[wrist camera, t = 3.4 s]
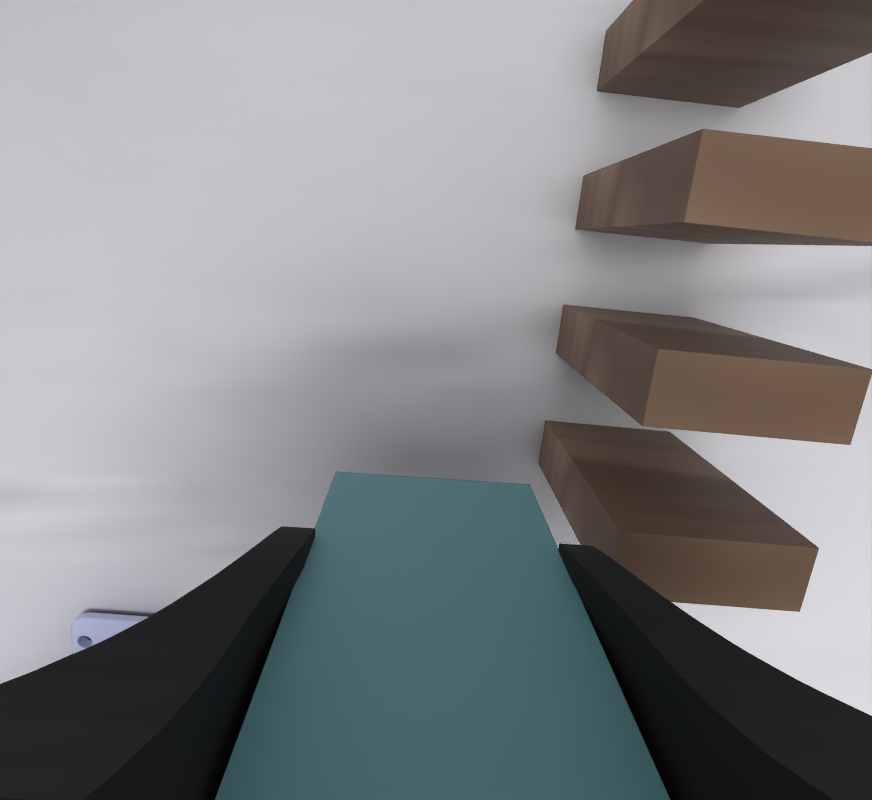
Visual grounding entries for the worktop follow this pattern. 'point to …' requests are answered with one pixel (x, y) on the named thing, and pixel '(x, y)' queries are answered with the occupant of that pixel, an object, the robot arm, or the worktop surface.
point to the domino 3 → (712, 376)
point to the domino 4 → (674, 518)
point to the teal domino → (436, 660)
